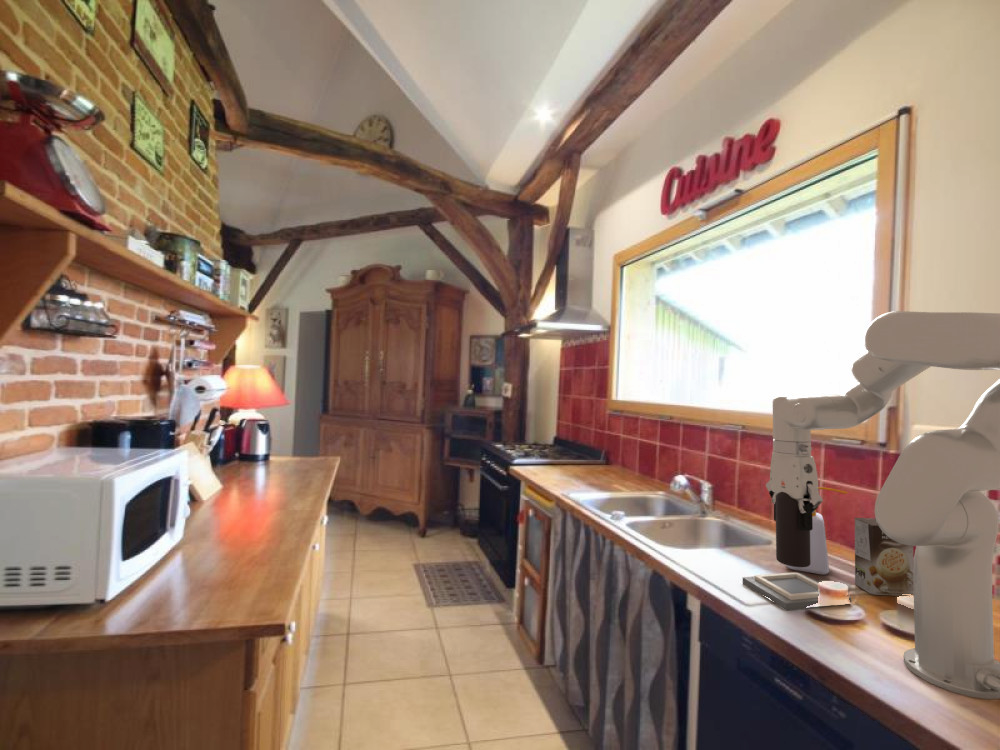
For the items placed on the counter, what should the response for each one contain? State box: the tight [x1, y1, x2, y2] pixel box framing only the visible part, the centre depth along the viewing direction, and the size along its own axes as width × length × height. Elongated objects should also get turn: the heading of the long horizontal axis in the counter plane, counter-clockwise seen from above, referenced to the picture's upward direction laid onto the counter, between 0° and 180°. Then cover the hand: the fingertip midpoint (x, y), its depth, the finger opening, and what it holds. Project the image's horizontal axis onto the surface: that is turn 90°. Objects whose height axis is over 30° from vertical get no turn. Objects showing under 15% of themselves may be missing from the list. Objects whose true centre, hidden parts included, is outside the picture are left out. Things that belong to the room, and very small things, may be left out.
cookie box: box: [854, 517, 914, 597], centre depth 112 cm, size 9×6×16 cm
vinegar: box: [775, 479, 811, 567], centre depth 111 cm, size 7×7×20 cm
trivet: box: [742, 571, 852, 611], centre depth 110 cm, size 14×16×2 cm
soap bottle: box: [785, 486, 848, 575], centre depth 125 cm, size 10×14×22 cm
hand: (792, 524), depth 111 cm, fingers closed on vinegar, 6 cm apart
